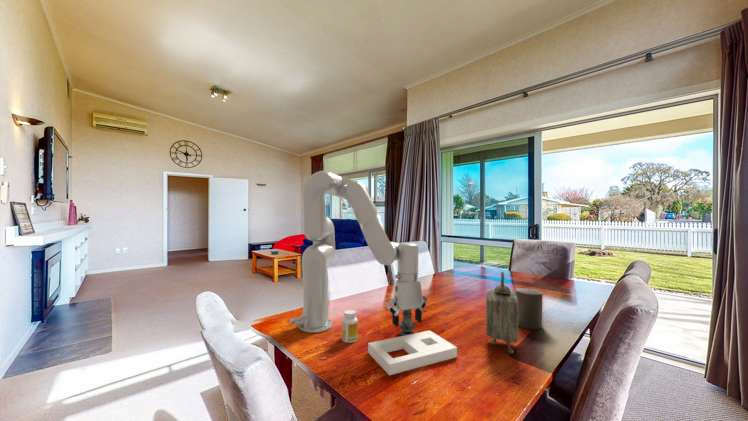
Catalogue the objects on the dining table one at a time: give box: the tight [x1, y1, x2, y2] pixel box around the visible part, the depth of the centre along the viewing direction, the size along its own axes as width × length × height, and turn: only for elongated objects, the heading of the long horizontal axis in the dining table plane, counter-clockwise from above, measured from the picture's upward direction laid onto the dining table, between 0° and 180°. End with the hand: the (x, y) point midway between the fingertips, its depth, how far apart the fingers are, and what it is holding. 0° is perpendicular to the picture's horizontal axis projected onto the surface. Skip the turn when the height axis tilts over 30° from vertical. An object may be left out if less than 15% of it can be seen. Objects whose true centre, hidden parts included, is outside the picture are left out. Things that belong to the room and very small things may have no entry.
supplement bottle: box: [341, 309, 359, 344], centre depth 102 cm, size 5×5×10 cm
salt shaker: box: [399, 309, 416, 336], centre depth 107 cm, size 6×6×12 cm
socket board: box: [367, 330, 458, 376], centre depth 92 cm, size 24×14×3 cm, turn 116°
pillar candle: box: [515, 287, 543, 331], centre depth 117 cm, size 10×10×15 cm
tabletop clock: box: [485, 271, 519, 355], centre depth 99 cm, size 14×9×25 cm, turn 160°
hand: (407, 323), depth 107 cm, fingers open, 9 cm apart
